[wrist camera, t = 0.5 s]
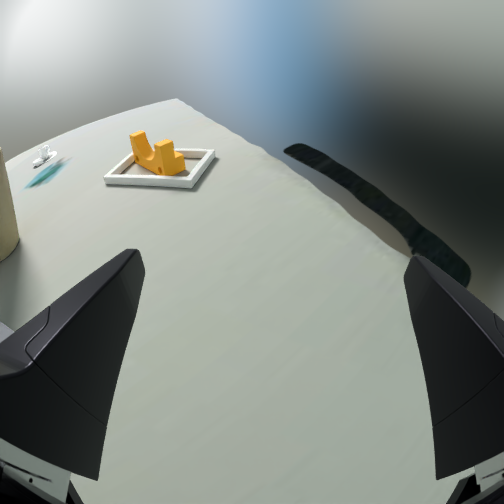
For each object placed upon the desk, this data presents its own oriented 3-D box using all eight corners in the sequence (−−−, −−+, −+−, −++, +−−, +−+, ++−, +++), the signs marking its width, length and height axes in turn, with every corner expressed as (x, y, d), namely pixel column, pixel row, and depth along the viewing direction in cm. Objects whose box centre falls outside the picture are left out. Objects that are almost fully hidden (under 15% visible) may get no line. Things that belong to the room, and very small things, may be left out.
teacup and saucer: (36, 169, 56) (31, 157, 54) (30, 166, 60) (26, 154, 57) (60, 154, 62) (57, 142, 59) (52, 151, 65) (49, 140, 62)
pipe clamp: (185, 170, 48) (181, 137, 43) (165, 180, 46) (159, 146, 41) (153, 155, 54) (148, 127, 49) (135, 163, 51) (129, 135, 47)
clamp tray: (191, 188, 43) (190, 180, 42) (105, 183, 46) (103, 177, 44) (215, 156, 51) (214, 149, 50) (137, 155, 54) (135, 149, 53)
